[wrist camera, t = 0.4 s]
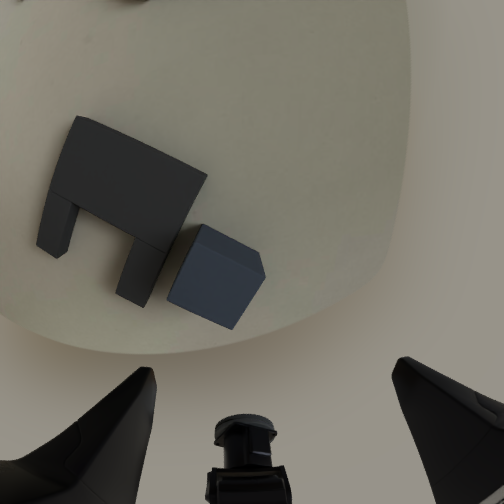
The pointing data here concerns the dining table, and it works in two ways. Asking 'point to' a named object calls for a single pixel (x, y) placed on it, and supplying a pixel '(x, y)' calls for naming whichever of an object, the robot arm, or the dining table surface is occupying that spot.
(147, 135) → the dining table surface
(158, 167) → the black arch block
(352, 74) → the dining table surface
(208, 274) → the navy rounded cube
